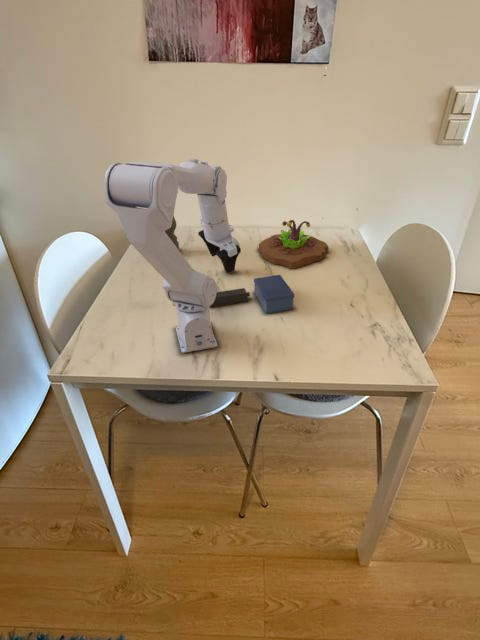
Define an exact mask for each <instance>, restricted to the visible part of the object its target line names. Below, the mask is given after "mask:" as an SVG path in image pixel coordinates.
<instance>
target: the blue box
mask: <svg viewBox="0 0 480 640" xmlns="http://www.w3.org/2000/svg"><path fill="white" fill-rule="evenodd" d="M253 283H254V289H253V290H254V295H255V297H256V298H257V301H258V302H259V304H260V306H261V307H262V309H263V310H264V313H265V314H273V313H278V312H284V311H289V310H294V309H293V307H294V298H295V295H296V294H295V292H294V291H293V290H292V288H291V287H290V286H289V284H288V283H287V282H286V280H285V279H284V278H283V276H282V275H281V274H275V275H268V276H262V277H254V278H253Z"/></svg>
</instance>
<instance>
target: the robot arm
mask: <svg viewBox="0 0 480 640" xmlns="http://www.w3.org/2000/svg"><path fill="white" fill-rule="evenodd" d="M227 175H228V174H227V173H226V170H225V169H223V168H222V166H220V165H209V163H208V162H207V161H200V162H199V159H198V158H191V157H189V158H188V159H187V160H186V161H183V162H181V163H180V164H179V165H176V164H172V163H167V162H165V163H164V162H154V161H129V162H125V164H123V163H121V162H114V163H113V162H112V163H111V164H110V165H109V166H108V167H107V169H106V172H105V175H104V178H103V188H104V189H103V190H104V191H103V193H104V202H105V203H106V205H107V206H108V207H109V208H110V209H111V210H112V212H114V213H115V215H116V216H117V217H118V219H119V221H120V224H121V226H122V228H123V231H124V233H125V235H126V237H127V240H128V242H129V243H130V244H131V246H132V247H133V248H134V249H135V250H136V251H137V252H138V253H139V254H140V255H141V256H142V257H143V258H144V259H145V260H146V262H148V263H149V265H151V266H152V268H153V269H154V270H155V271H156V272H157V273H158V275H160V276H161V277H162V278H163V280H162V286H161V288H162V289H163V290H164V292H165V296H166V298H167V299H168V300H169V301H171V302H172V306H173V307H175V310H176V318H177V326H176V327H175V331H176V335H177V339H178V343H179V348H180V351H181V353H182V354H185V353H191V352H196V351H202V350H206V349H207V350H208V349H212V348H216V347H218V342H217V340H216V337H215V335H214V331H213V327H212V326H213V325H212V322H211V311H210V307H211V306H213V305H212V304H213V302H214V300H215V298H216V293H217V292H218V285H217V282H216V280H215V278H213V277H209V276H208V275H207V274H205V273H203V272H200V271H198V270H196V269H194V268H193V267H192V266H191V264H190V263H189V262H188V260H187V259H186V258H185V256H184V255H183V254H182V252H181V251H180V249H179V250H178V249H177V247H176V246H175V245H174V243H173V242H172V241H171V239H170V238H169V237H168V235H167V234H166V233H165V230H167V229H169V228H171V225H172V220H173V215H174V214H175V208H176V202H177V198H178V193H179V191H181V192H182V193H185V194H188V195H189V194H191V195H192V194H193V195H197V201H198V205H199V209H200V215H201V218H200V219H199V222H200V226H201V228H202V229H201V230H200V231H198V236H199V237H200V238H201V239H202V241H203V242H204V244H205V246H206V248H207V250H208V252H209V254H210V255H211V257H216V256H217V257H218V258H219V260H220V261H221V264H222V266H223V269H224V271H225V273H226V274H231V273H233V272H234V271H235V268H236V263H237V259H238V257H239V255H240V254H241V252H242V249H241V246H240V247H239V246H238V245H236V246H235V244H234V242H233V238H232V237H233V234H232V233H233V232H234V231H235V227H234V226H232V224H230V223H229V218H228V211H227V203H226V198H227V193H228V192H227V182H228V179H227V178H228V176H227ZM174 216H175V215H174ZM220 248H222V249H223V250H221V251H220ZM232 271H233V272H232ZM230 272H231V273H230Z"/></svg>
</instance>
